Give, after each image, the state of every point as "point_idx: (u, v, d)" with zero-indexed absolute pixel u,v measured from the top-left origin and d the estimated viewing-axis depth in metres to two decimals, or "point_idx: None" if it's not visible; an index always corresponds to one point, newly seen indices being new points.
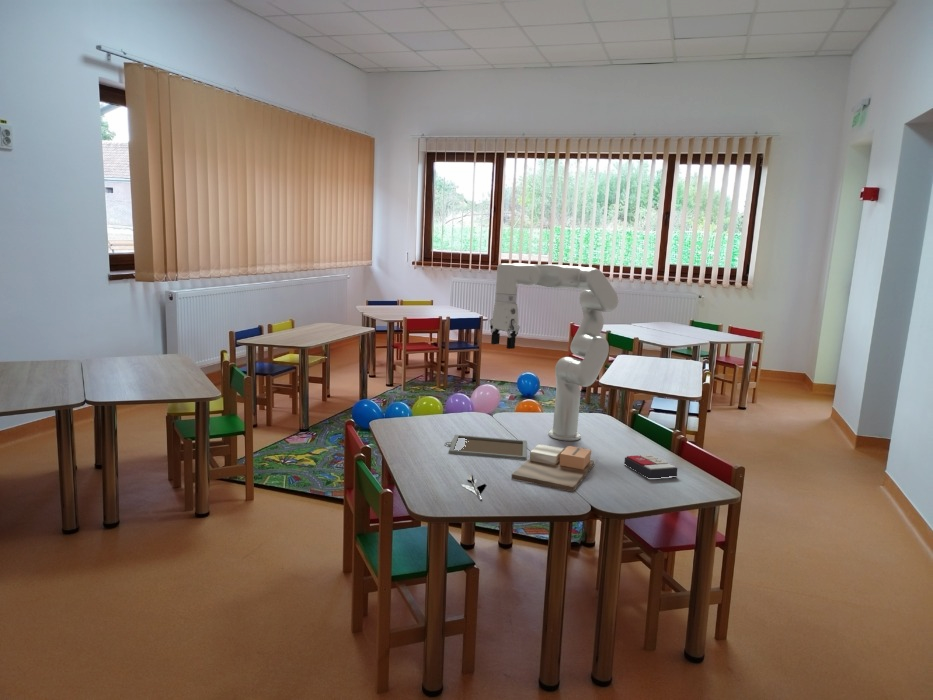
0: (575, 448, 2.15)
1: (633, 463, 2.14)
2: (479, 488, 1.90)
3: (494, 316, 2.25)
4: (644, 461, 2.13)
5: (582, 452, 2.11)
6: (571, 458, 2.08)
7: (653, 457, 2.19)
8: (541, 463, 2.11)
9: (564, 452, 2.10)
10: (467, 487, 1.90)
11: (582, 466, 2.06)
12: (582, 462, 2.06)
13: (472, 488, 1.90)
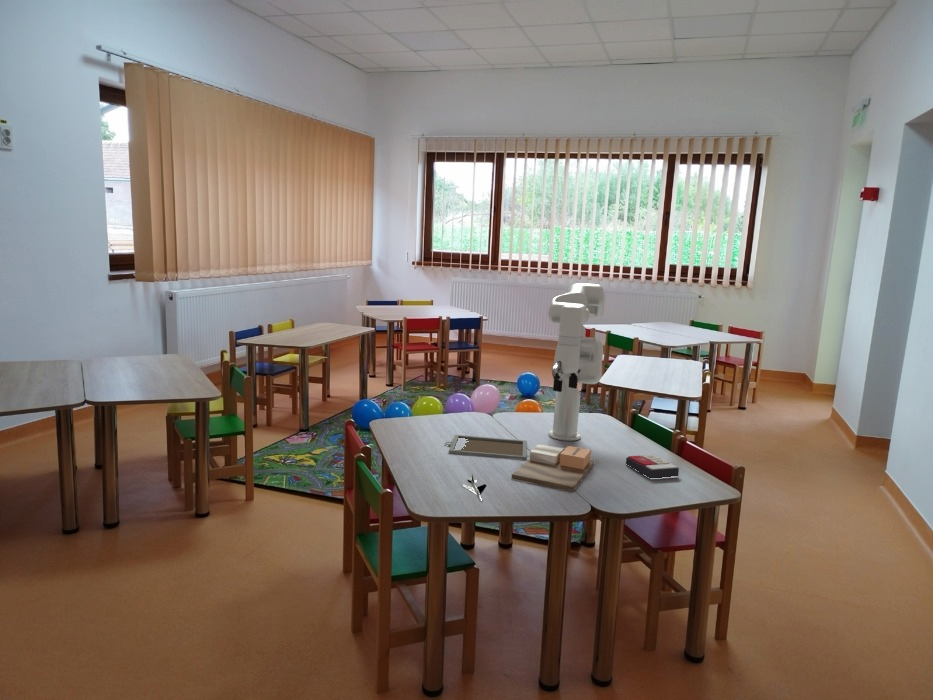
0: (575, 448, 2.15)
1: (634, 463, 2.14)
2: (479, 488, 1.90)
3: (568, 362, 2.14)
4: (645, 461, 2.13)
5: (582, 452, 2.11)
6: (571, 458, 2.08)
7: (655, 457, 2.18)
8: (541, 463, 2.11)
9: (564, 452, 2.10)
10: (467, 487, 1.90)
11: (582, 466, 2.06)
12: (582, 462, 2.06)
13: (472, 488, 1.89)
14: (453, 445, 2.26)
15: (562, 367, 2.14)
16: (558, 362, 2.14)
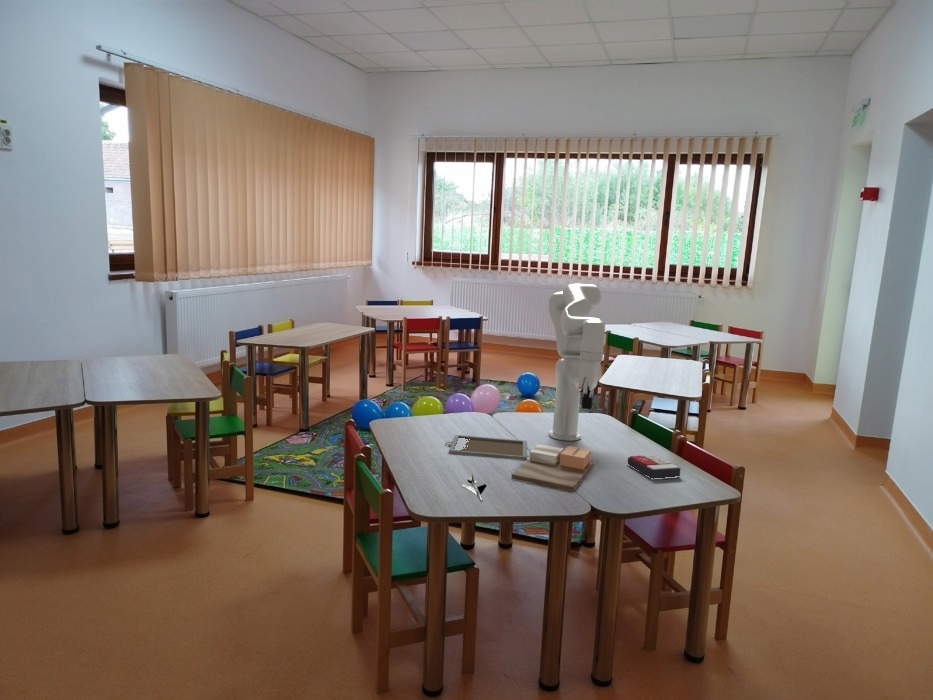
0: (575, 448, 2.15)
1: (636, 463, 2.14)
2: (479, 488, 1.90)
3: (594, 377, 2.13)
4: (647, 461, 2.13)
5: (582, 452, 2.11)
6: (571, 458, 2.08)
7: (656, 457, 2.18)
8: (541, 463, 2.11)
9: (564, 452, 2.10)
10: (467, 487, 1.90)
11: (582, 466, 2.06)
12: (582, 462, 2.06)
13: (472, 488, 1.89)
14: (453, 445, 2.26)
15: (589, 383, 2.12)
16: (585, 382, 2.13)
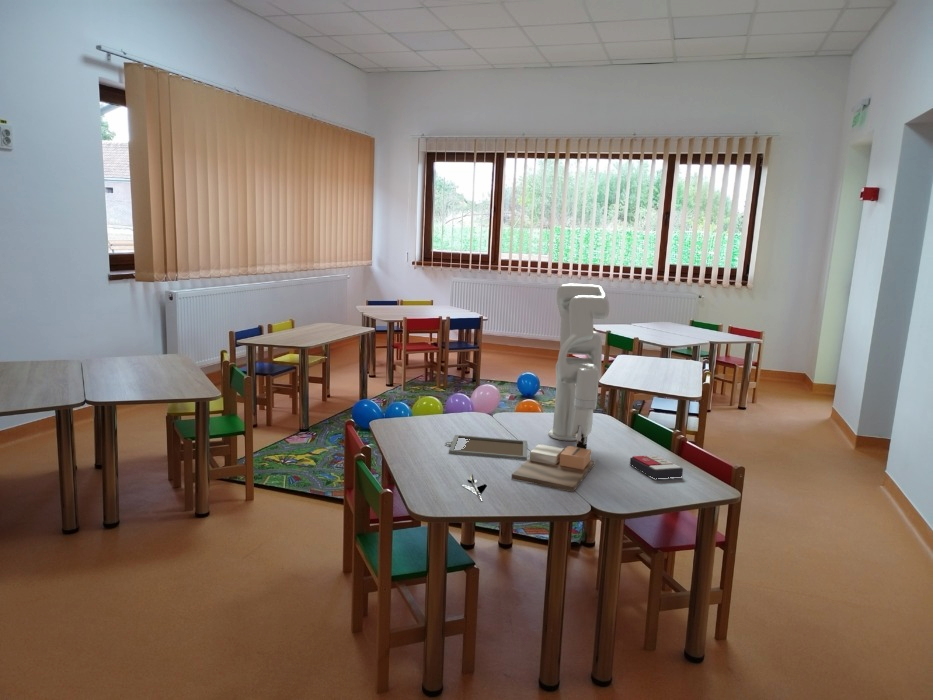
0: (575, 448, 2.15)
1: (638, 463, 2.14)
2: (479, 488, 1.90)
3: (588, 425, 2.13)
4: (649, 461, 2.13)
5: (582, 452, 2.11)
6: (571, 458, 2.07)
7: (659, 457, 2.18)
8: (541, 463, 2.11)
9: (564, 452, 2.10)
10: (467, 487, 1.90)
11: (582, 466, 2.06)
12: (582, 462, 2.06)
13: (472, 488, 1.89)
14: (453, 445, 2.26)
15: (583, 431, 2.12)
16: (579, 429, 2.13)
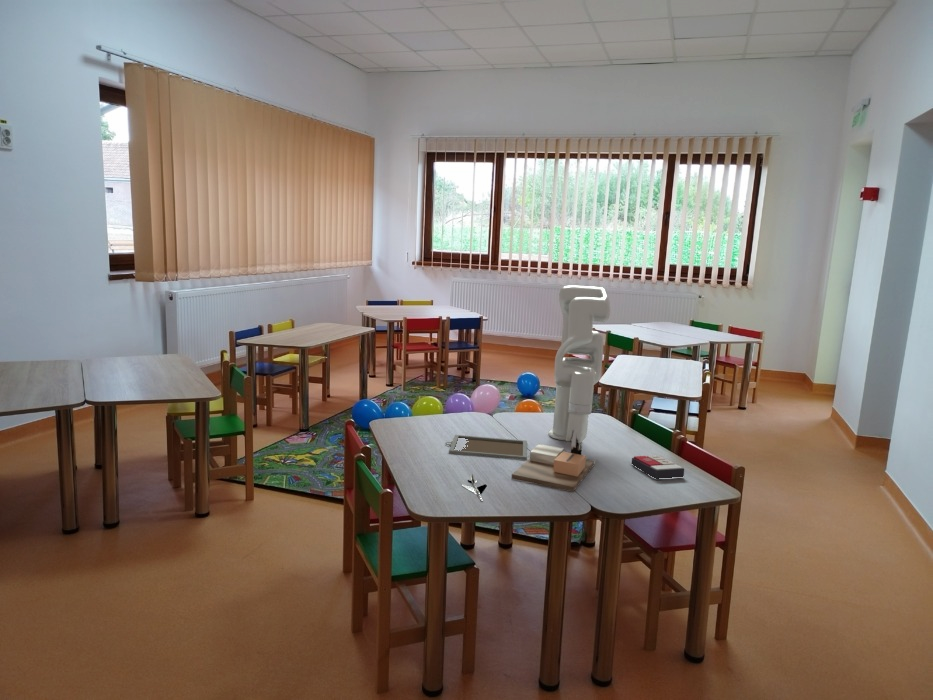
0: (569, 454, 2.09)
1: (640, 463, 2.14)
2: (479, 488, 1.90)
3: (582, 430, 2.07)
4: (651, 461, 2.13)
5: (576, 458, 2.04)
6: (565, 465, 2.01)
7: (660, 458, 2.18)
8: (541, 463, 2.11)
9: (558, 458, 2.04)
10: (467, 487, 1.90)
11: (576, 473, 2.00)
12: (576, 469, 2.00)
13: (472, 488, 1.89)
14: (453, 445, 2.26)
15: (578, 437, 2.06)
16: (573, 435, 2.07)
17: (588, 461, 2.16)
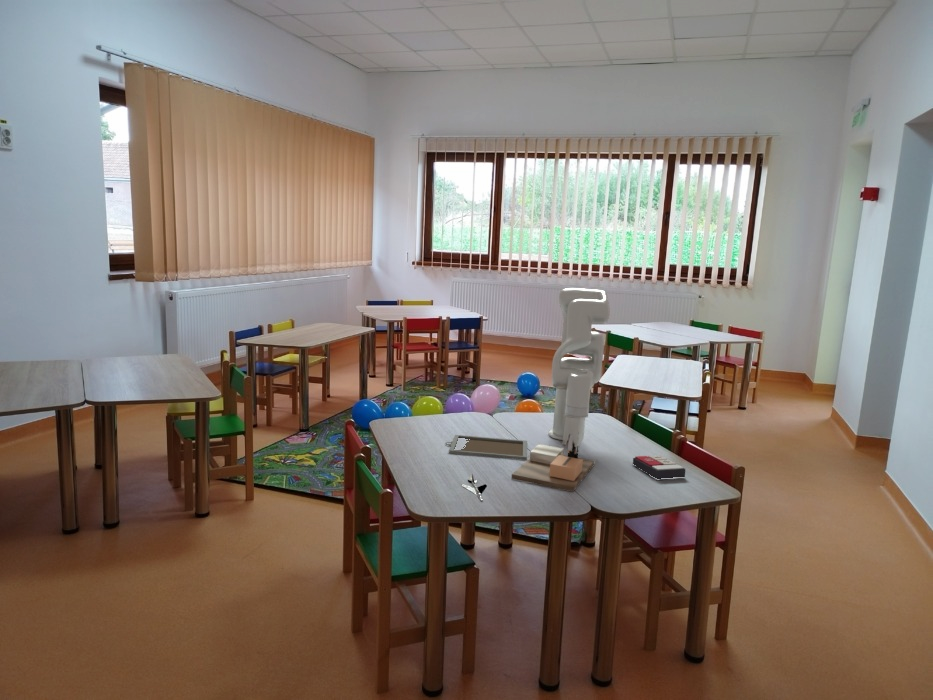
0: (566, 458, 2.05)
1: (641, 463, 2.14)
2: (479, 488, 1.90)
3: (579, 434, 2.03)
4: (652, 462, 2.13)
5: (573, 462, 2.00)
6: (561, 469, 1.97)
7: (662, 458, 2.18)
8: (541, 463, 2.11)
9: (554, 462, 2.00)
10: (467, 487, 1.90)
11: (573, 477, 1.96)
12: (573, 473, 1.96)
13: (472, 488, 1.89)
14: (453, 445, 2.26)
15: (574, 440, 2.02)
16: (570, 438, 2.03)
17: (588, 461, 2.16)
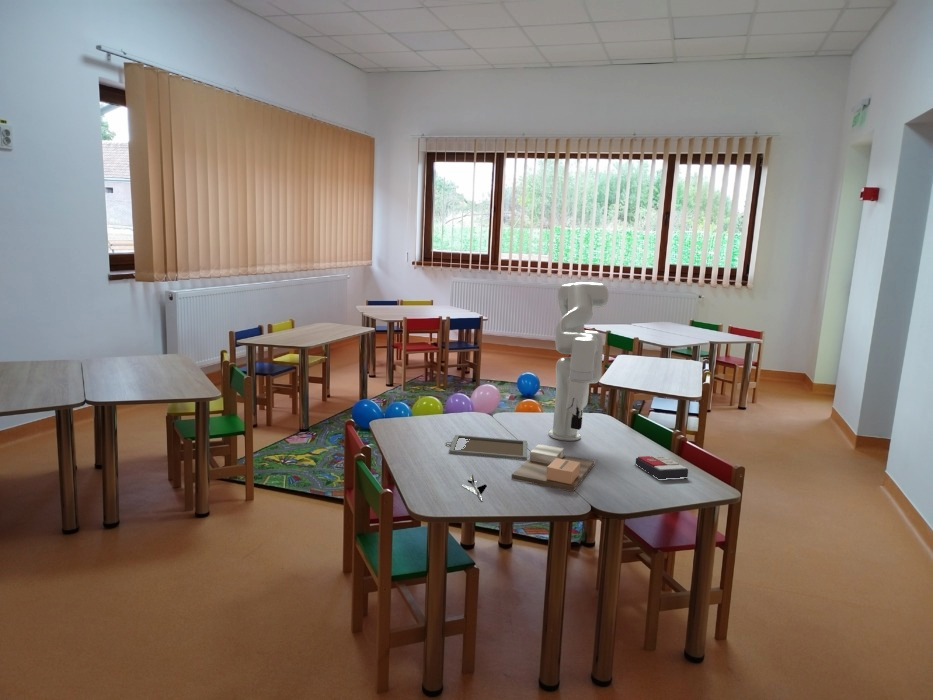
0: (563, 461, 2.02)
1: (644, 464, 2.14)
2: (479, 488, 1.90)
3: (583, 398, 2.03)
4: (655, 462, 2.13)
5: (570, 465, 1.97)
6: (558, 472, 1.94)
7: (665, 458, 2.18)
8: (541, 463, 2.11)
9: (551, 465, 1.97)
10: (467, 487, 1.90)
11: (570, 480, 1.93)
12: (570, 476, 1.93)
13: (472, 488, 1.89)
14: (453, 445, 2.26)
15: (578, 404, 2.02)
16: (574, 402, 2.03)
17: (588, 461, 2.16)
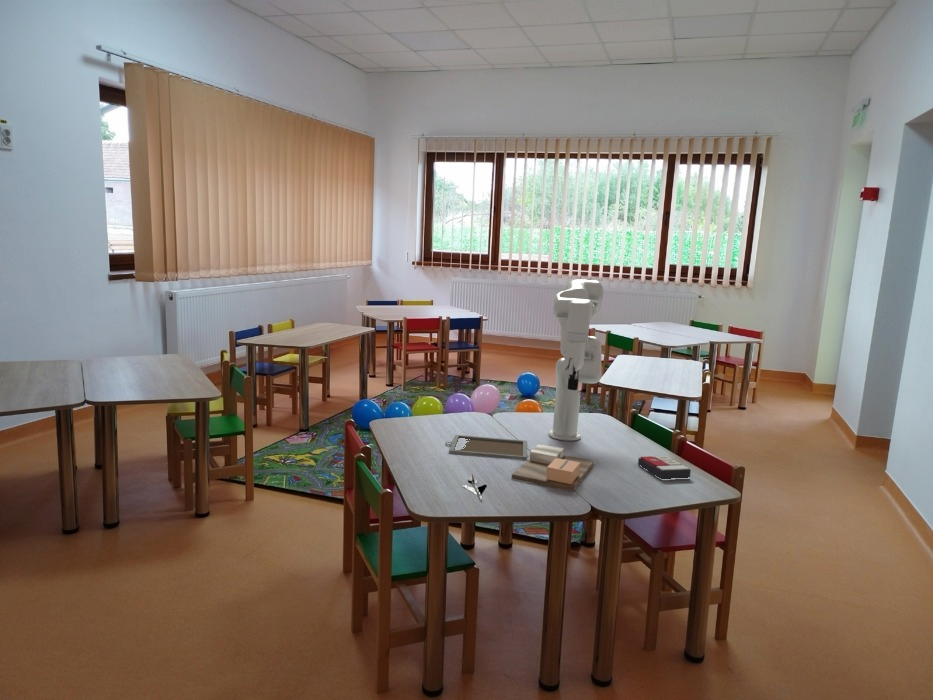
0: (563, 461, 2.02)
1: (646, 464, 2.14)
2: (479, 489, 1.89)
3: (579, 358, 2.12)
4: (657, 462, 2.13)
5: (570, 465, 1.97)
6: (558, 472, 1.94)
7: (667, 458, 2.18)
8: (541, 463, 2.11)
9: (551, 465, 1.97)
10: (467, 488, 1.90)
11: (570, 480, 1.93)
12: (570, 476, 1.93)
13: (472, 489, 1.89)
14: (453, 445, 2.26)
15: (575, 364, 2.11)
16: (570, 363, 2.12)
17: (588, 461, 2.16)
